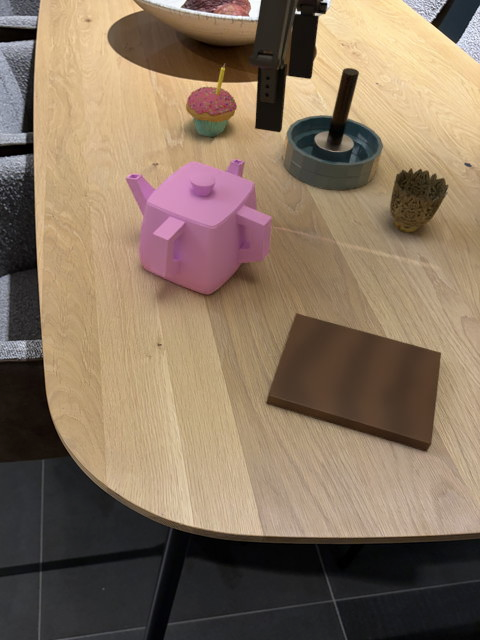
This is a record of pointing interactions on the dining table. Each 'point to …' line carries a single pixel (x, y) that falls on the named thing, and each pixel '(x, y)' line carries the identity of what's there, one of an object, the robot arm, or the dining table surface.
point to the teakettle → (200, 225)
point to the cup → (416, 199)
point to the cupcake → (211, 108)
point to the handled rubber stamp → (338, 124)
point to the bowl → (325, 171)
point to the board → (358, 381)
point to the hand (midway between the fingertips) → (285, 101)
